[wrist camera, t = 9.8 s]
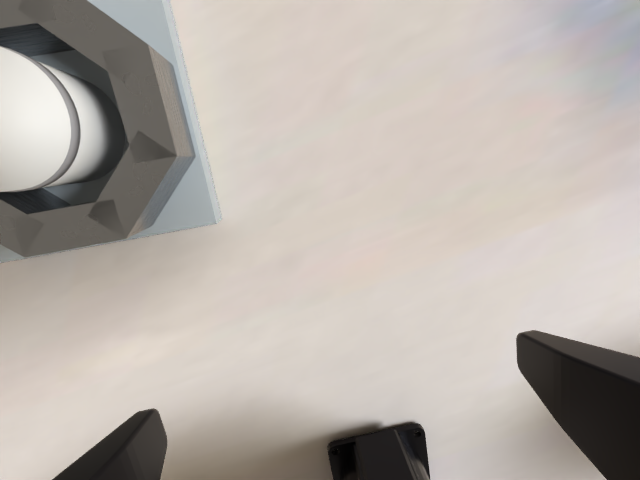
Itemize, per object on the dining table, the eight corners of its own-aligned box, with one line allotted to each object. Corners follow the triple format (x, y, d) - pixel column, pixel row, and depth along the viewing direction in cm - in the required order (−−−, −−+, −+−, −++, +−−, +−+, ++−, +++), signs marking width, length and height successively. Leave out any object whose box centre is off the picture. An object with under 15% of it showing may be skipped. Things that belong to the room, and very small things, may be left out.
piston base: (221, 218, 19) (190, 247, 13) (17, 256, 19) (-120, 304, 12) (168, -6, 17) (95, -106, 10) (-72, 30, 16) (-303, -53, 10)
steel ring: (210, 214, 18) (195, 226, 15) (8, 252, 17) (-49, 271, 14) (155, -7, 15) (124, -46, 12) (-82, 28, 15) (-173, -4, 12)
